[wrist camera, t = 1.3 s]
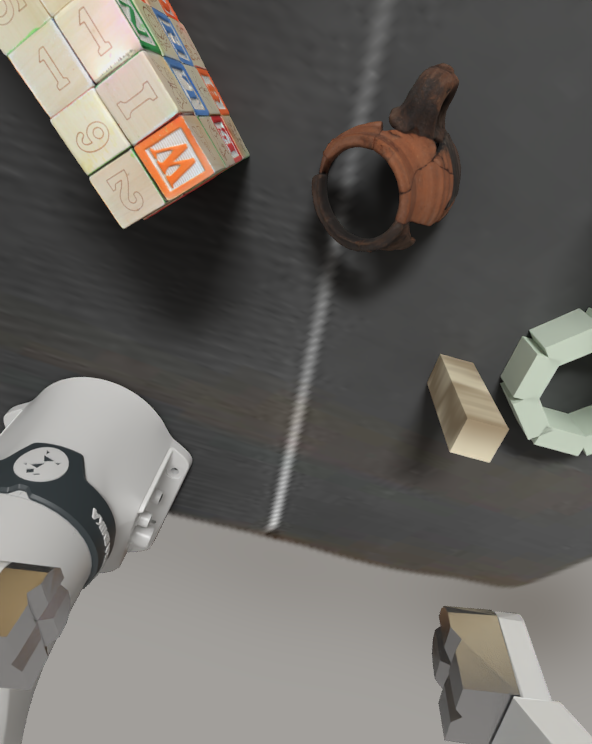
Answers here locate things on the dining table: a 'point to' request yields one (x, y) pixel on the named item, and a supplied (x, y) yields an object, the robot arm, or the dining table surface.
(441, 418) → the wooden block
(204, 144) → the stack of blocks
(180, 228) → the dining table surface
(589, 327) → the sage ring
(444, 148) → the pottery mug
